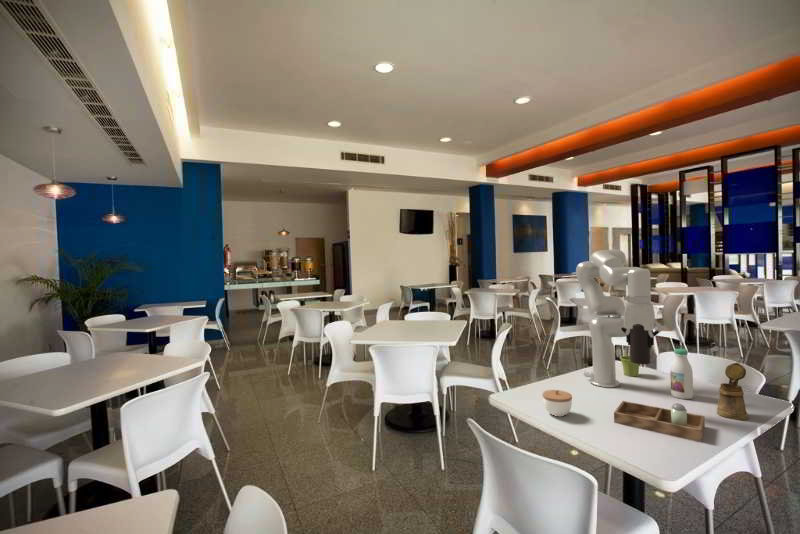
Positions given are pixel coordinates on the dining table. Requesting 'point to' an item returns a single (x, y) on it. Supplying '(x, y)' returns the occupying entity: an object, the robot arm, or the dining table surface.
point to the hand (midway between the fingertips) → (640, 345)
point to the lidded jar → (557, 402)
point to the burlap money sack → (732, 394)
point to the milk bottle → (681, 375)
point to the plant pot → (629, 366)
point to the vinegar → (639, 345)
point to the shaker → (678, 414)
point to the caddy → (659, 420)
